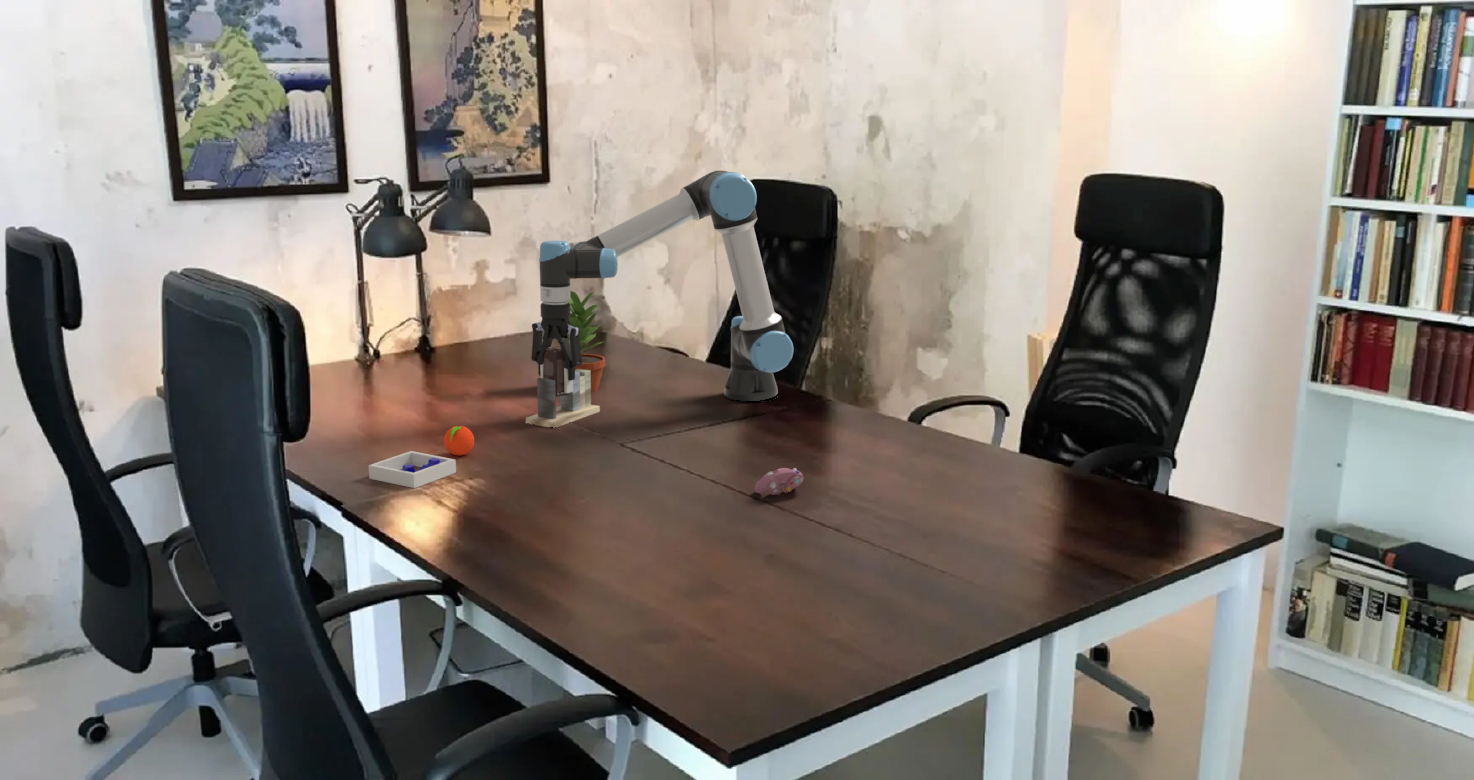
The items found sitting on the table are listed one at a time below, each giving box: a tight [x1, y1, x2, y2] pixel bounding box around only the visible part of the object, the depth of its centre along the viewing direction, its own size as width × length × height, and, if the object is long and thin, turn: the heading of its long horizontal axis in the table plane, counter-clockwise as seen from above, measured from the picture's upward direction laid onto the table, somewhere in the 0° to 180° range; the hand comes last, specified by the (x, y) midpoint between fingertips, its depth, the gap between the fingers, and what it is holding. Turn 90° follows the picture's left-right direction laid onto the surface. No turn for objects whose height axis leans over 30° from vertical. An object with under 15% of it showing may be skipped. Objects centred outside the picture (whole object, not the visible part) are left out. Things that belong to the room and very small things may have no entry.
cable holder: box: [402, 458, 440, 473], centre depth 260 cm, size 8×4×4 cm, turn 138°
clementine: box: [443, 425, 475, 457], centre depth 277 cm, size 8×7×7 cm
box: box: [544, 346, 569, 398], centre depth 308 cm, size 6×4×12 cm
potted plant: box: [562, 289, 606, 393], centre depth 342 cm, size 15×15×30 cm
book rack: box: [525, 369, 601, 429], centre depth 312 cm, size 9×20×12 cm, turn 151°
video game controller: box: [754, 467, 805, 496], centre depth 254 cm, size 10×5×7 cm, turn 118°
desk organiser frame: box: [368, 450, 457, 489], centre depth 262 cm, size 13×13×3 cm
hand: (556, 390), depth 309 cm, fingers closed on box, 7 cm apart
